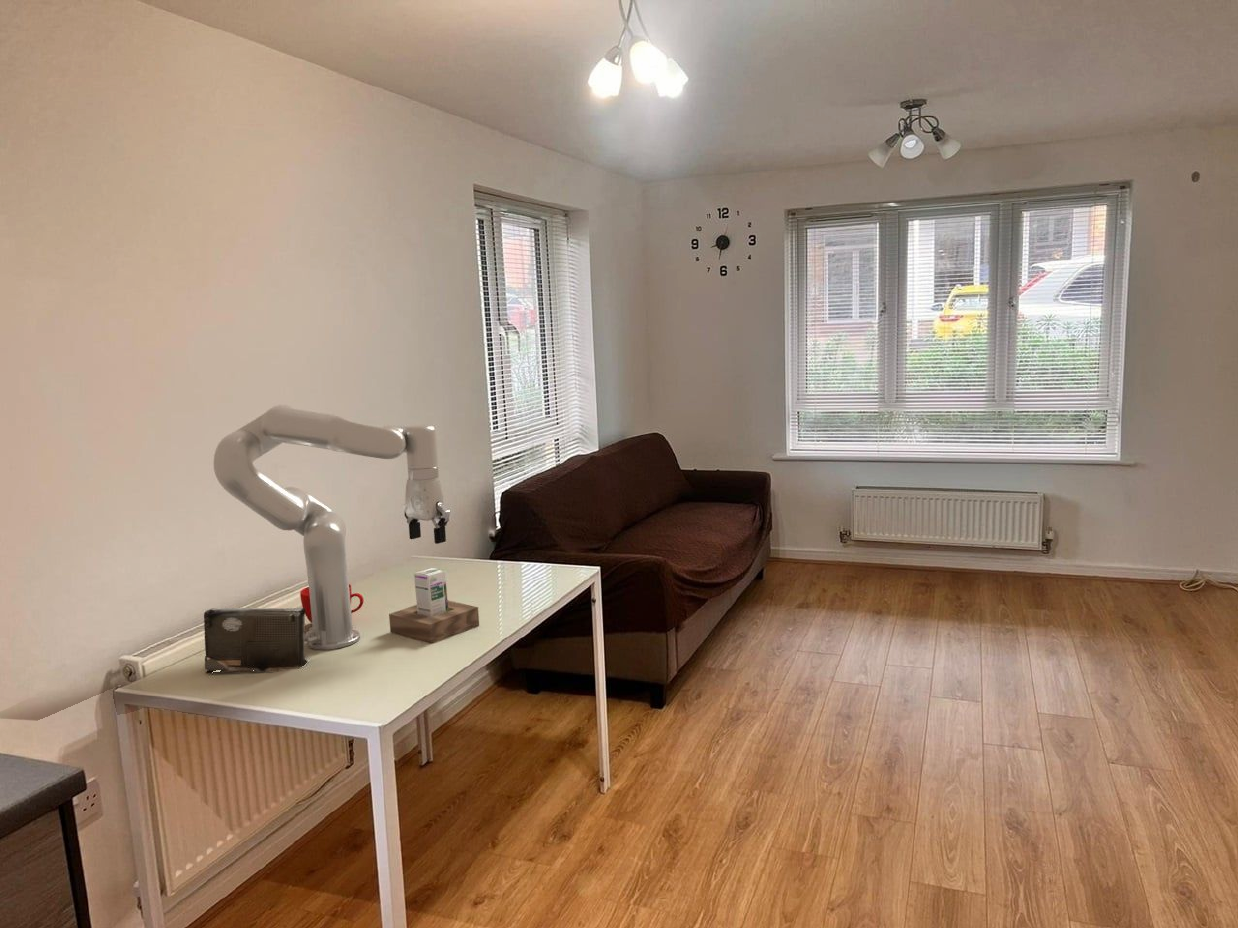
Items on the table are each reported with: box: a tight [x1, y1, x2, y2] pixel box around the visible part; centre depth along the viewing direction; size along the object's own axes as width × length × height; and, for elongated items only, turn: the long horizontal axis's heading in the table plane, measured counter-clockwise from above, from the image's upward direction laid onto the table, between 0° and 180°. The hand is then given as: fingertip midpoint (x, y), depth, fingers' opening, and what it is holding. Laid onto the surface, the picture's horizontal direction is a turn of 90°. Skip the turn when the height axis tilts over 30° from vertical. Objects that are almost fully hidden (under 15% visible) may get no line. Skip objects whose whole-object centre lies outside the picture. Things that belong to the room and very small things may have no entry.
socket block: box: [388, 599, 480, 645], centre depth 226 cm, size 16×16×5 cm
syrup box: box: [413, 567, 448, 617], centre depth 225 cm, size 6×6×14 cm
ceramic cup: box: [299, 583, 364, 624], centre depth 232 cm, size 13×17×10 cm
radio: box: [203, 607, 311, 675], centre depth 203 cm, size 23×9×15 cm, turn 88°
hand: (427, 540), depth 223 cm, fingers open, 9 cm apart
